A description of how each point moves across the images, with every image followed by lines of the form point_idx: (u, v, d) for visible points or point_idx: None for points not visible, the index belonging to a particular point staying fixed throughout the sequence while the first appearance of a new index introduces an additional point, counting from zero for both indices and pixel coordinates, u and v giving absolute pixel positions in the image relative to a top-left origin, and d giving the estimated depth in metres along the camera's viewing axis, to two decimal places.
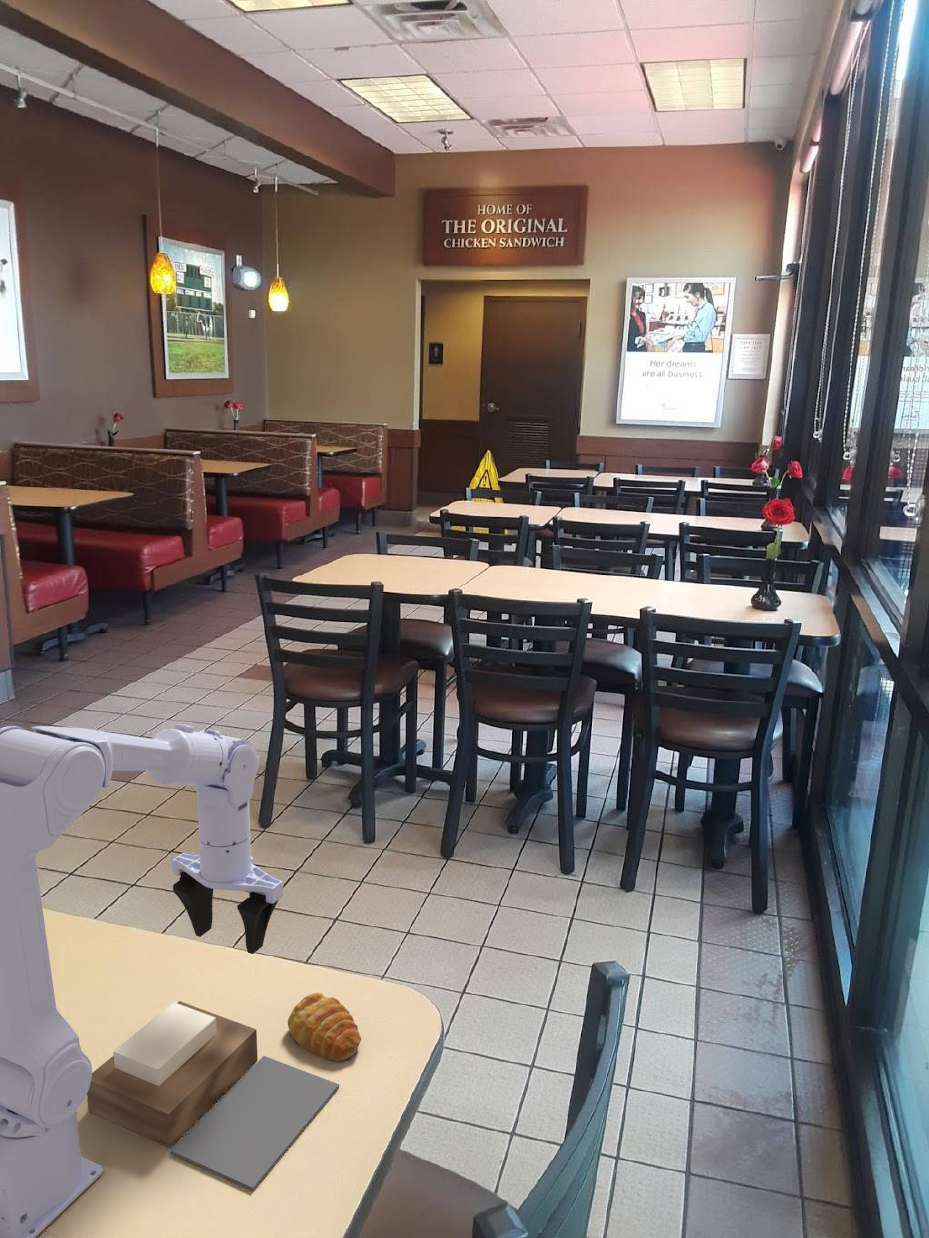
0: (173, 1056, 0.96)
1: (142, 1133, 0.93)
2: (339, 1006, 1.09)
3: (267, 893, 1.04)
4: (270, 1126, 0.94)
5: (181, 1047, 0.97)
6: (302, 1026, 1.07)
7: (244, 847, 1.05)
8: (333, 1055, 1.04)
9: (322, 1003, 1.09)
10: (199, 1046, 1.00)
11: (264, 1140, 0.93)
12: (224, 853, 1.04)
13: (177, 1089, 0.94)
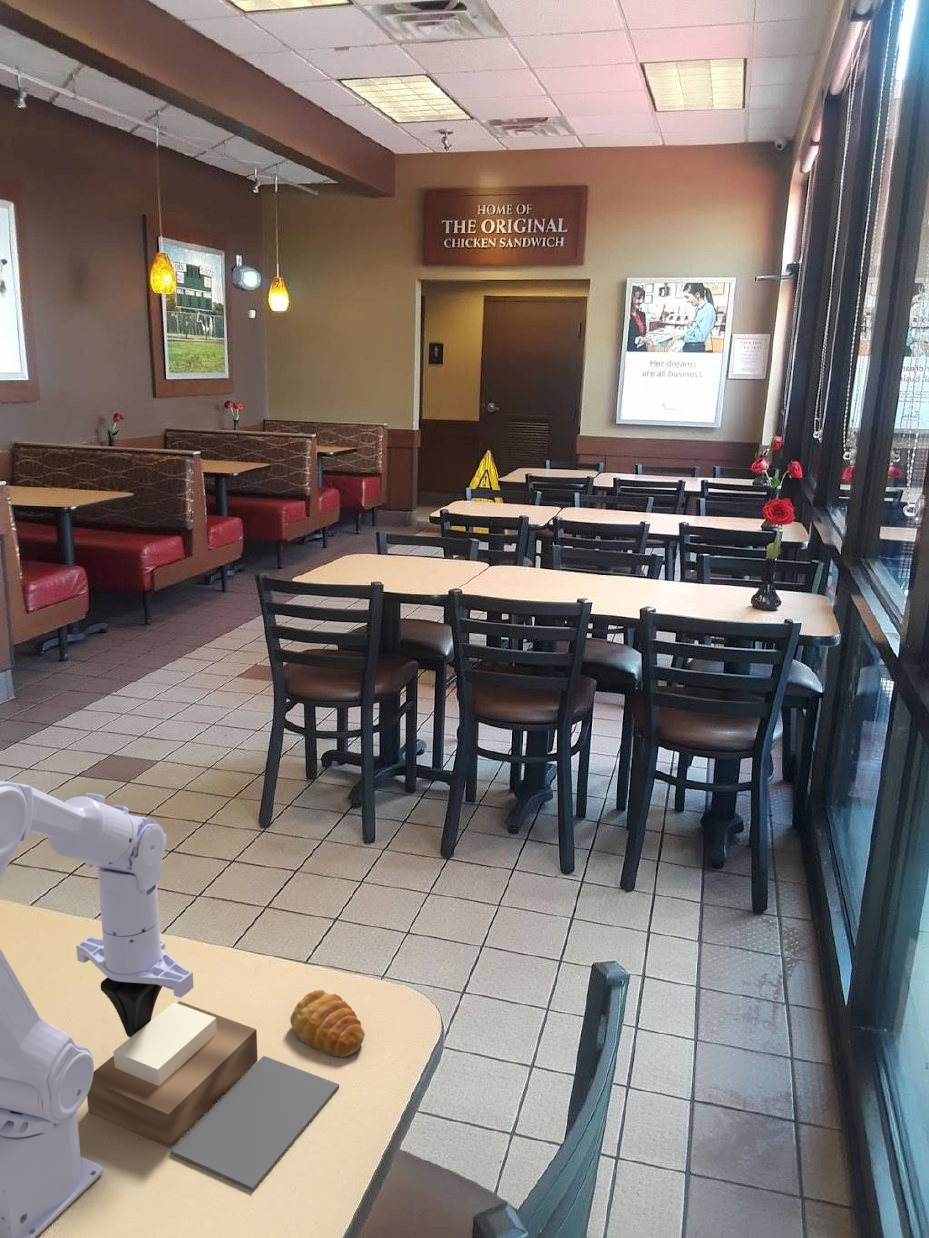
0: (173, 1056, 0.96)
1: (142, 1133, 0.93)
2: (342, 1002, 1.10)
3: (174, 986, 0.96)
4: (270, 1126, 0.94)
5: (181, 1047, 0.97)
6: (305, 1023, 1.07)
7: (151, 935, 0.97)
8: (337, 1051, 1.05)
9: (325, 1000, 1.09)
10: (199, 1046, 1.00)
11: (264, 1140, 0.93)
12: (128, 943, 0.95)
13: (177, 1089, 0.94)
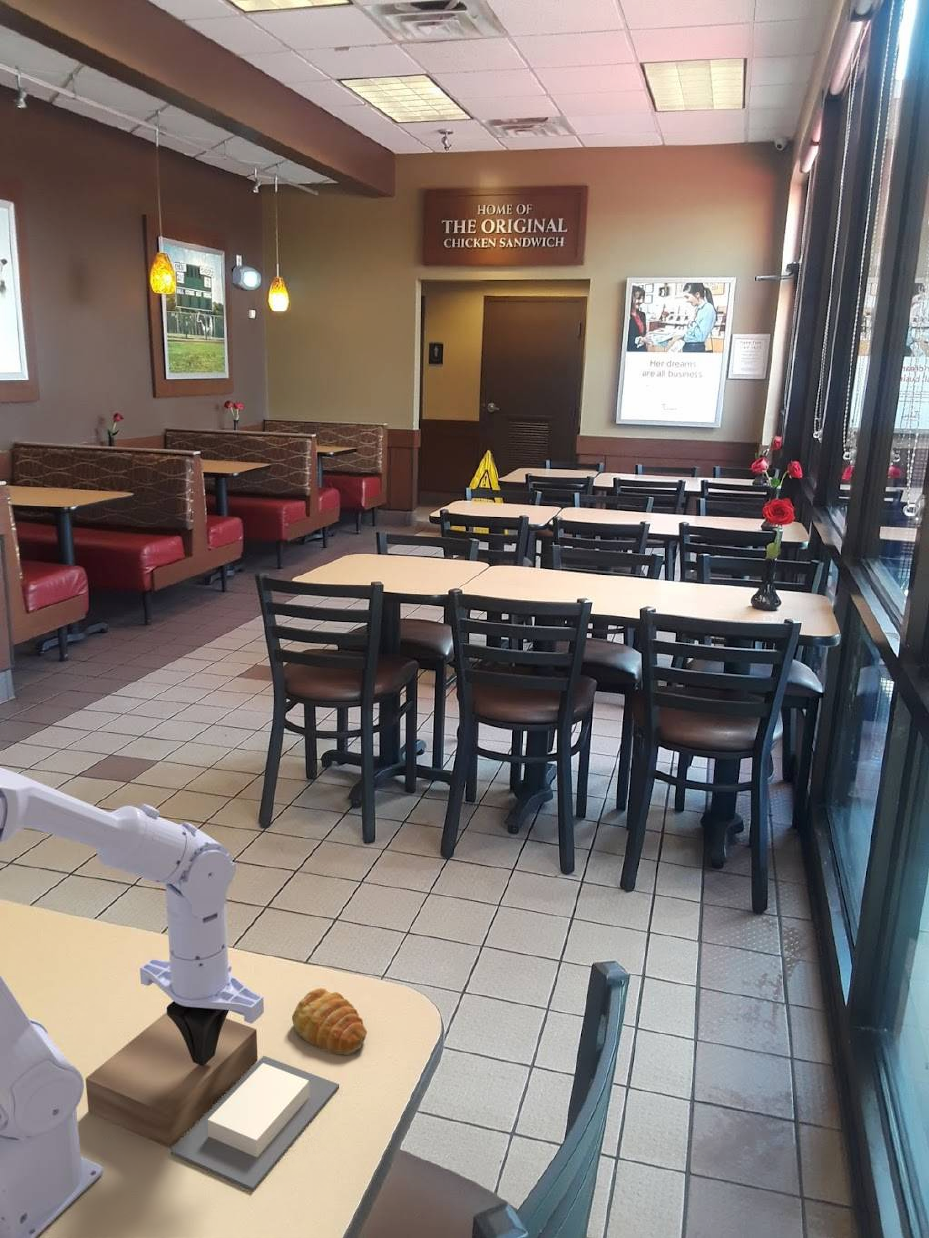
0: None
1: (142, 1133, 0.93)
2: (343, 1001, 1.10)
3: (245, 1012, 0.92)
4: None
5: None
6: (307, 1021, 1.07)
7: (220, 958, 0.93)
8: (339, 1049, 1.05)
9: (326, 998, 1.10)
10: None
11: None
12: (197, 967, 0.92)
13: (177, 1089, 0.94)
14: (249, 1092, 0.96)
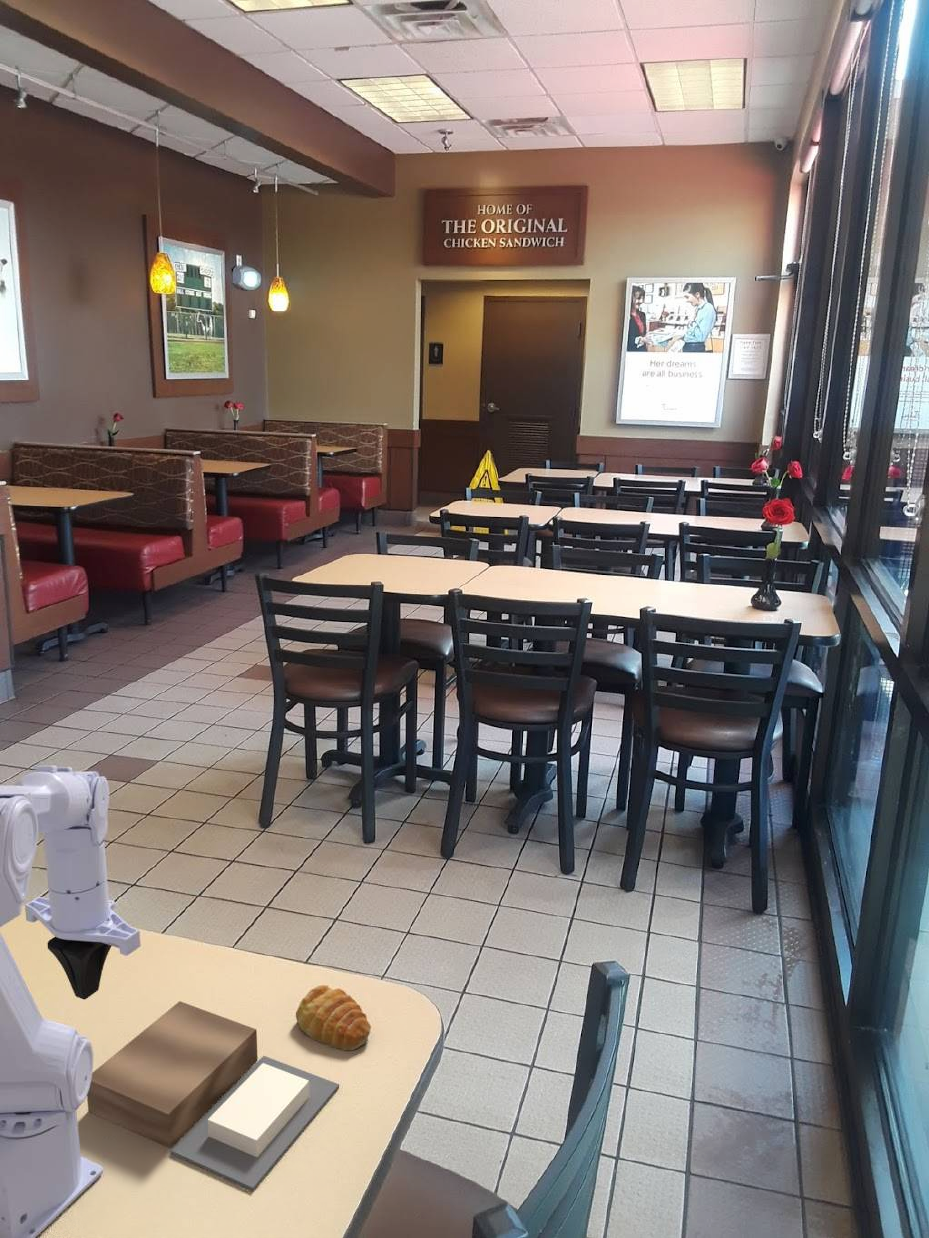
0: None
1: (142, 1133, 0.93)
2: (346, 996, 1.11)
3: (120, 944, 0.95)
4: None
5: None
6: (312, 1018, 1.08)
7: (97, 893, 0.96)
8: (345, 1044, 1.06)
9: (330, 995, 1.10)
10: None
11: None
12: (73, 900, 0.95)
13: (177, 1089, 0.94)
14: (249, 1092, 0.96)
